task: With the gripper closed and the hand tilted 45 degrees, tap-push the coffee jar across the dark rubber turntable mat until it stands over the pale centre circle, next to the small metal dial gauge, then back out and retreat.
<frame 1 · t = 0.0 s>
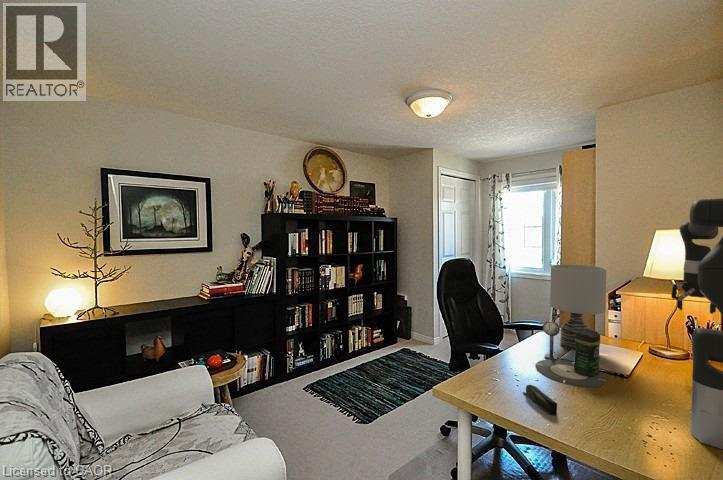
hand: (695, 311, 128), 29 cm above the table, tool pointing down, fingers open, 8 cm apart
turntable mat: (568, 372, 140), on the table
dark elongated block: (538, 404, 116), on the table
dial gauge: (551, 357, 155), on the table
lamp: (576, 347, 168), on the table
coffee jar: (586, 373, 138), resting on turntable mat
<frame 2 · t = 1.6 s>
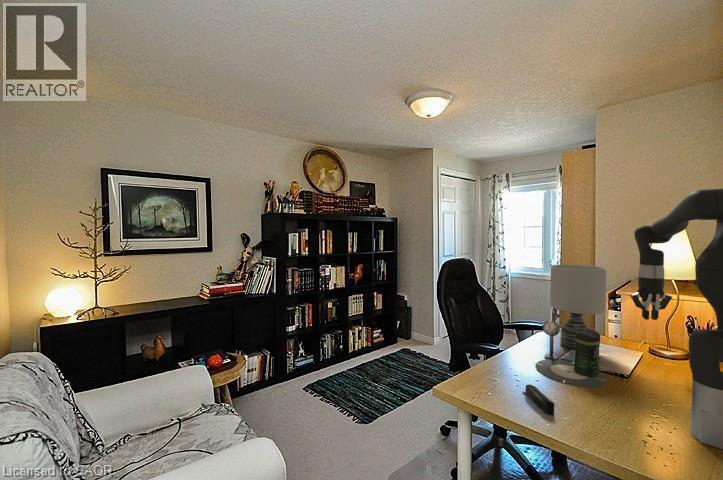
hand: (649, 319, 126), 27 cm above the table, tool pointing down, fingers closed
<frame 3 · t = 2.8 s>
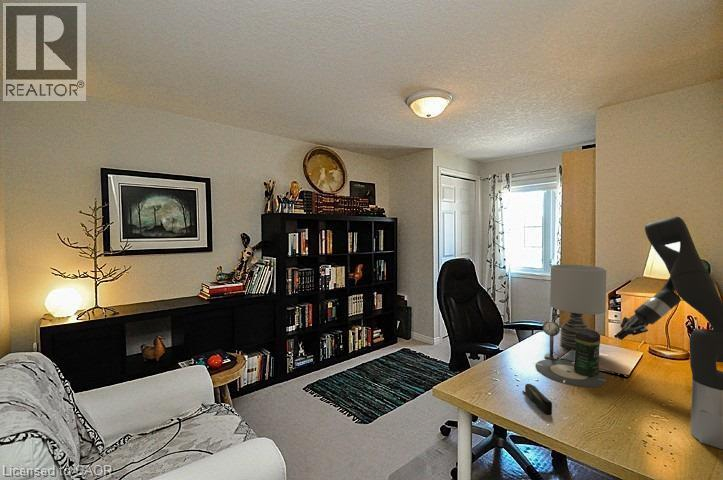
hand: (618, 337, 135), 16 cm above the table, tool tilted 45°, fingers closed
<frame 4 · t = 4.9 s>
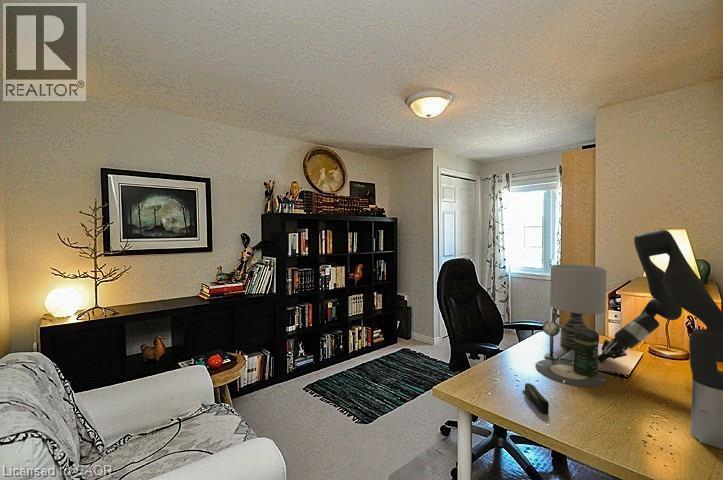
hand: (598, 360, 138), 6 cm above the table, tool tilted 45°, fingers closed
coffee jar: (585, 373, 138), resting on turntable mat, touching gripper
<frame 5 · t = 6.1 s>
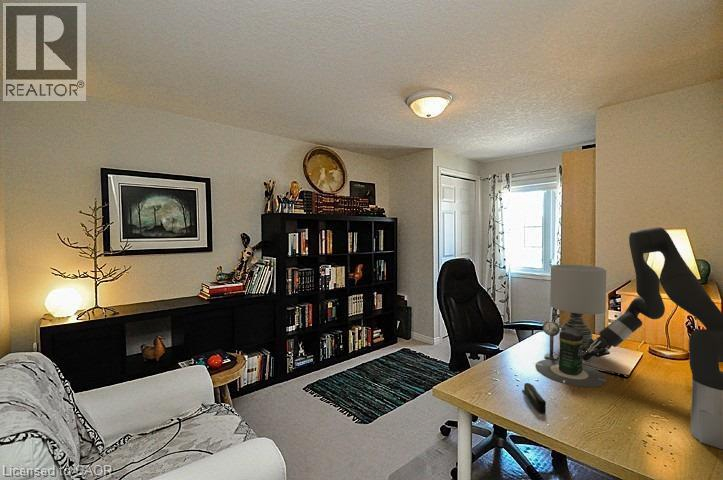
hand: (582, 359, 139), 6 cm above the table, tool tilted 45°, fingers closed
coffee jar: (570, 372, 140), resting on turntable mat, touching gripper
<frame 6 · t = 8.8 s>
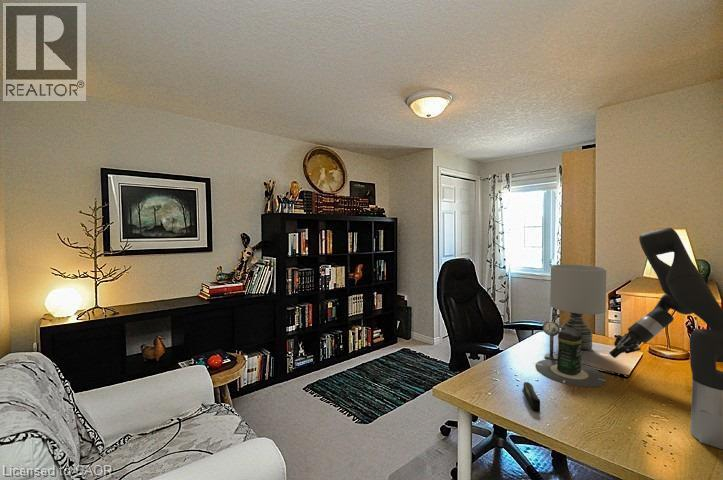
hand: (611, 355, 136), 8 cm above the table, tool tilted 45°, fingers closed
coffee jar: (569, 372, 140), resting on turntable mat
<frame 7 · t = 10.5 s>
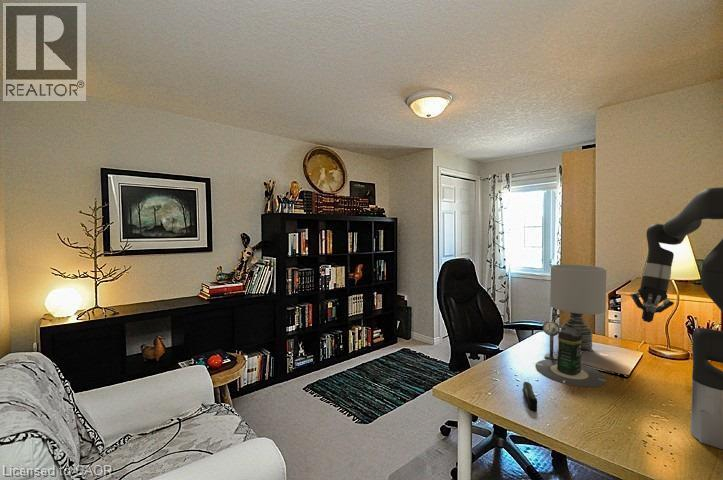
hand: (646, 321, 120), 28 cm above the table, tool pointing down, fingers closed
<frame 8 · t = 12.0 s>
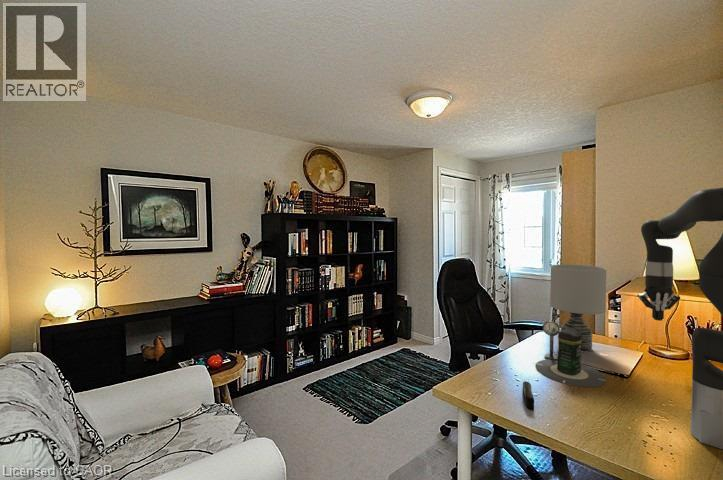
hand: (657, 320, 118), 29 cm above the table, tool pointing down, fingers closed
at the end: coffee jar 0.1 cm from the turntable mat (horizontally); coffee jar tilted 0°; coffee jar moved 6.9 cm from its start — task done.
